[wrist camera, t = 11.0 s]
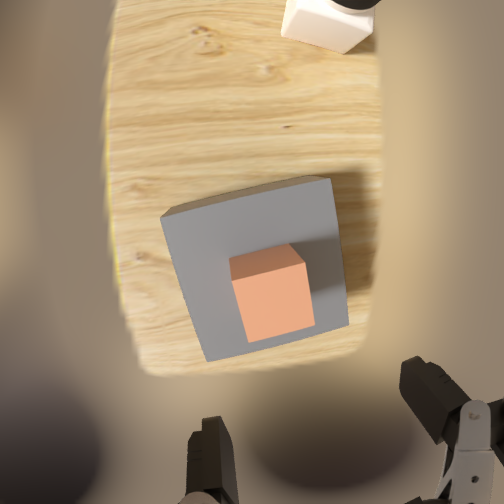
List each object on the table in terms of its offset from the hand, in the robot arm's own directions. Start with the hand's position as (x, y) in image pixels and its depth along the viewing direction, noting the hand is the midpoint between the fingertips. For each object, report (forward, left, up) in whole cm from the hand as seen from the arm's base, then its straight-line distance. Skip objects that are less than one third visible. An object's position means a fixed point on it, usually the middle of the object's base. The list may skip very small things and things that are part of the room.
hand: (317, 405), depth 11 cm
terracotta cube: (0, 0, -15) cm, 15 cm away
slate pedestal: (0, 0, -21) cm, 21 cm away
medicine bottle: (-24, +12, -21) cm, 34 cm away
